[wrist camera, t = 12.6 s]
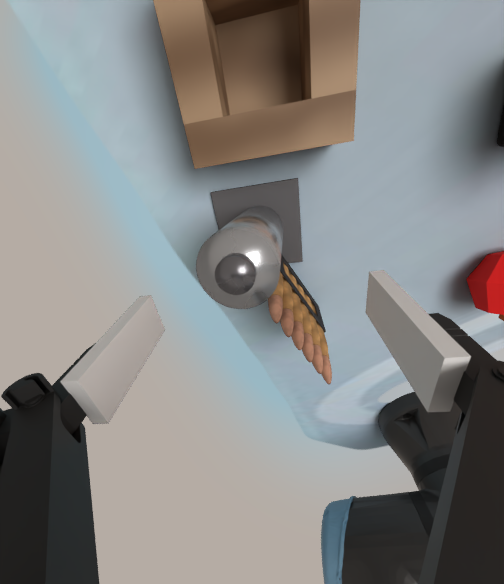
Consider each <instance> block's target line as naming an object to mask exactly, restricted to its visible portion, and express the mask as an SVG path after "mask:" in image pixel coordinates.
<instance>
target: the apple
mask: <svg viewBox="0 0 504 584" xmlns="http://www.w3.org/2000/svg"><path fill="white" fill-rule="evenodd" d="M466 280H467V283H468V286H469V289H470V292H471V295H472V298H473V301H474V304H475V307H476V308H478V309H481V310H483V311H486V312H488V313H494V314H500V315H499V318H500V319H501V320H503V321H504V251H502V252H497V253H492V254H488V255H487V256H486V257H485V258H484V259H483V260H482V261H481V263H480V264H479V265H478V266H477V267H476V268H475V269H474V271H473V272H472V273H471V274H470V275H469V276H468V278H467V279H466Z"/></svg>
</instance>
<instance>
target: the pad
mask: <svg viewBox="0 0 504 584" xmlns="http://www.w3.org/2000/svg"><path fill="white" fill-rule="evenodd" d="M211 197H212V201H213V205H214V210H215V214H216V219H217V223H218V227H219V230H220V229H222V228H223V227H224V226H226V225H227V224H228V223H229V222H231V221H232V220H233V219H235V218H236V217H237V216H239V215H240V214H241V213H243V212H244V211H245V210H247V209H248V208H250V207H253V206H259V205H260V206H266V207H269V208H271V209H273V210H274V211H275V212H276V213H277V214H278V215H279V216H280V218H281V220H282V223H283V242H282V253H281V254H282V255H283V257H284V258H285V260H286V261H287V262H288V263H294V262H303V261H302V243H301V224H300V206H299V187H298V178H295V179H289V180H283V181H276V182H270V183H264V184H258V185H252V186H246V187H240V188H234V189H227V190H221V191H215V192H211Z"/></svg>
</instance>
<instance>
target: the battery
mask: <svg viewBox="0 0 504 584" xmlns="http://www.w3.org/2000/svg"><path fill="white" fill-rule="evenodd" d="M497 144H498V145H499V146H504V107H503V112H502V117H501V123H500V128H499V134H498V140H497Z"/></svg>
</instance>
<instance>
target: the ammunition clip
mask: <svg viewBox="0 0 504 584" xmlns="http://www.w3.org/2000/svg"><path fill="white" fill-rule="evenodd" d="M268 305H269V311H270V314H271V317H272V319H273V321H274V322H275V323H278V322H279V321H280V322H281V326H282V329H283V331H284V333H285V335H286V336H287V337H290V336H292V340H293V342H294V344H295V346H296V347H297V349H298V350H301V349H302V351H303V354H304V356H305V358H306V359H307V360H308V361H309V362H312V364H313V366H314V368H315V369H316V371H317V372H318V373H319V374H322V376H323V378H324V380H325V381H326V382H327V383H328V384H330V383H331V379H332V371H331V364H330V360H329V355H328V346H327V342H326V338H325V335H324V332H326V331H325V327H324V324H323V320H322V317H321V313H320V310H319V306H318V305H317V303H316V302H315V301H314V299H313V298H312V296H311V295H310V293H309V292H308V291H307V289H306V288H305V286H304V285H303V284H302V282H301V281H300V279H299V278H298V277H297V275H296V274H295V272H294V271H293V269H292V268H291V267H290V265H289V264H288V262H287V261H286V260H285V258H284V257H283V255H282V254H281V265H280V276H279V281H278V285H277V287H276V289H275V291H274V292H273V294H272V295H271V296H270V297H269V298H268Z"/></svg>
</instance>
